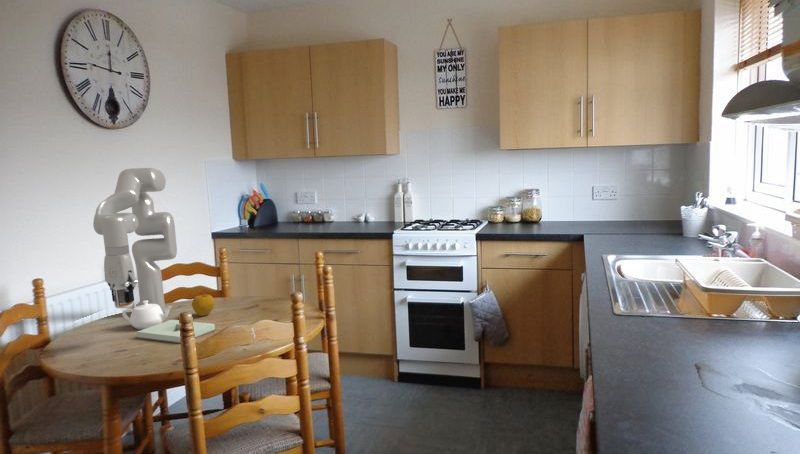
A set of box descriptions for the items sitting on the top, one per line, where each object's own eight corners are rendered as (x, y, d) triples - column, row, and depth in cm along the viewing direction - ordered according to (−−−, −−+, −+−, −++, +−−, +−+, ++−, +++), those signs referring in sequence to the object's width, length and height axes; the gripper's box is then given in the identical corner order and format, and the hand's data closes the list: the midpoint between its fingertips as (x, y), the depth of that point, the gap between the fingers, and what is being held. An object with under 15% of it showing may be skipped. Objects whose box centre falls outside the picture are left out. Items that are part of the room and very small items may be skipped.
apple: (206, 319, 230) (204, 297, 229) (188, 318, 233) (185, 296, 232) (220, 313, 239) (218, 291, 238) (202, 312, 242) (200, 291, 241)
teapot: (181, 320, 231) (178, 295, 229) (167, 329, 218) (164, 303, 217) (132, 322, 231) (129, 298, 230) (116, 332, 219) (113, 306, 218)
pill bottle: (136, 304, 206) (132, 277, 205) (127, 308, 200) (123, 281, 199) (121, 304, 207) (117, 277, 205) (111, 309, 201) (108, 281, 200)
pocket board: (137, 338, 209) (136, 331, 209) (172, 325, 224) (171, 319, 223) (181, 343, 200) (181, 337, 199) (215, 330, 214) (214, 323, 214)
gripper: (91, 252, 201) (97, 302, 204) (125, 254, 194) (131, 306, 196) (109, 248, 208) (116, 296, 210) (143, 250, 200) (149, 300, 203)
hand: (123, 300), depth 203 cm, fingers closed on pill bottle, 5 cm apart
